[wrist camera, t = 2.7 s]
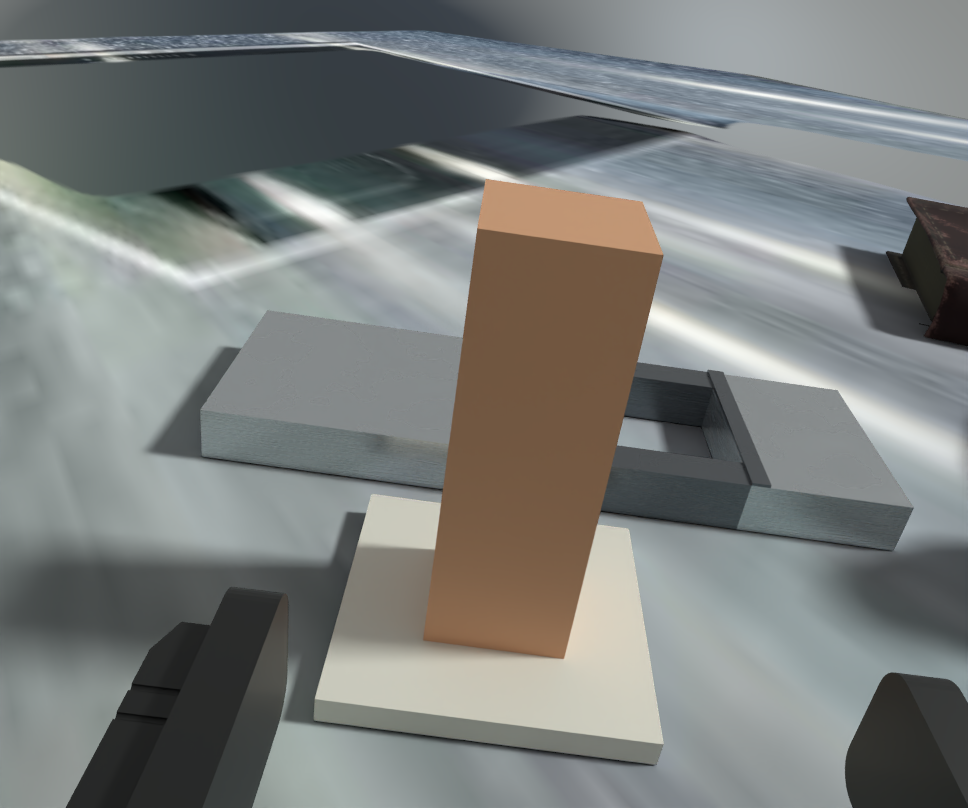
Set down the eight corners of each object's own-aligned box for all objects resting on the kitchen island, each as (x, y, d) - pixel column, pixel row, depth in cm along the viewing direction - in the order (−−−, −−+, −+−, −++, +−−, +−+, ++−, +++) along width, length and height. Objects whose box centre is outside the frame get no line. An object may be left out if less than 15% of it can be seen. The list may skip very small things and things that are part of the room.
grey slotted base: (201, 456, 32) (199, 407, 31) (267, 350, 40) (267, 308, 38) (893, 550, 32) (915, 505, 31) (822, 427, 40) (838, 388, 39)
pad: (313, 720, 22) (314, 699, 22) (370, 512, 30) (371, 493, 30) (656, 764, 22) (663, 744, 22) (623, 546, 30) (628, 528, 30)
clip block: (422, 640, 24) (477, 228, 18) (436, 549, 28) (485, 178, 22) (564, 658, 24) (663, 255, 18) (559, 566, 28) (642, 201, 22)
